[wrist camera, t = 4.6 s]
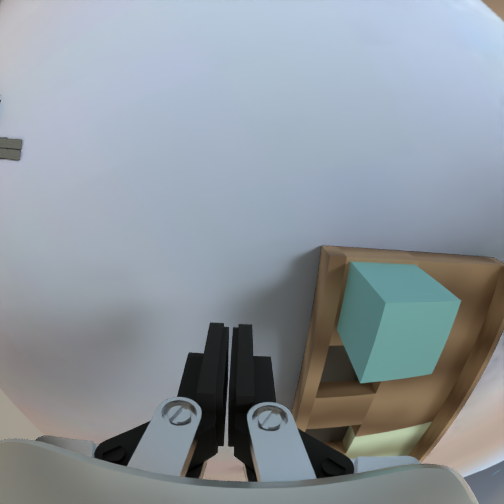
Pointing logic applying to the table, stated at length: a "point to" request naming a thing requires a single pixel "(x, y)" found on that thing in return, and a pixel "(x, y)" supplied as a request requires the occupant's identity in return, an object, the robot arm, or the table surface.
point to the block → (394, 320)
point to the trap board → (400, 390)
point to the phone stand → (4, 143)
